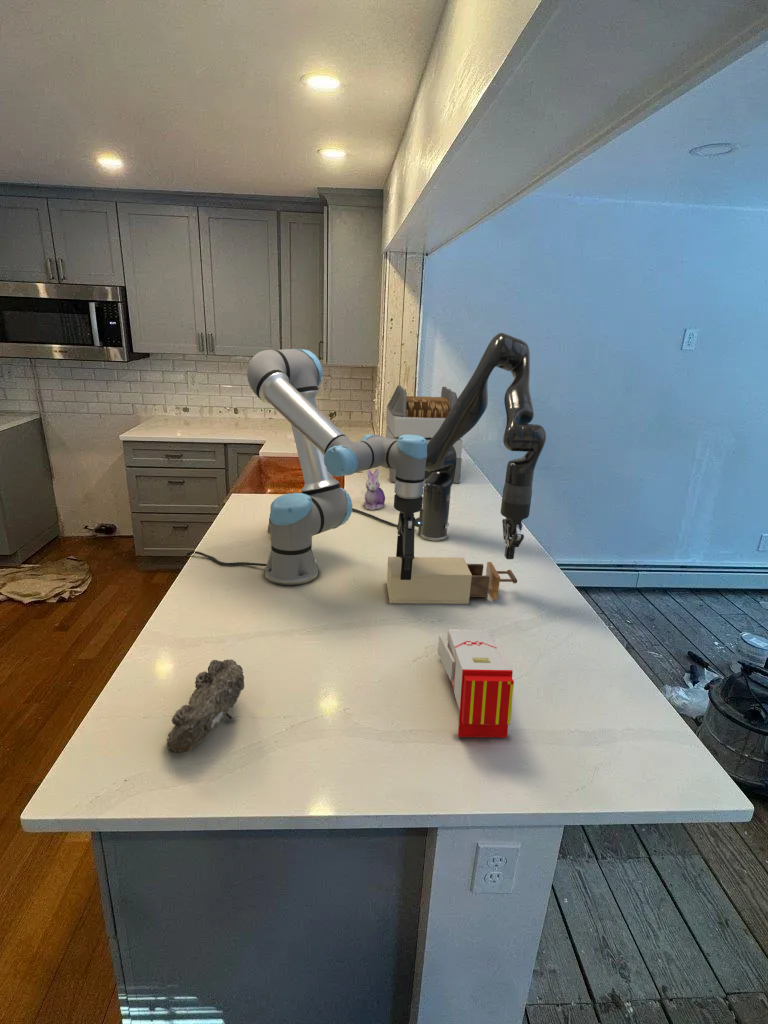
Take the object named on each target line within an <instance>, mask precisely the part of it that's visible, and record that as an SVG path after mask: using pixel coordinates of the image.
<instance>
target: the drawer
mask: <svg viewBox="0 0 768 1024" xmlns="http://www.w3.org/2000/svg"><path fill="white" fill-rule="evenodd" d="M466 564H467V566H468V568H469V570H470V572H471V574H472V578H471V587H470V597H469V598H488V594H490V597H491V599H492V600H493V601H497V600H498V597H499V591H500V590H499V589H500V583H506V582H507V583H513V584H518V579H517V577H516V576H515V574H514V573H513V571H512V569H507V570H497V569H496V568H495V566H494V564H493V562H492V561H486V569H485V575H484V574H483V572H484V564H483V563H466ZM501 574H502V575H508V578H501V576H500V575H501Z"/></svg>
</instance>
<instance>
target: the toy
mask: <svg viewBox="0 0 768 1024" xmlns="http://www.w3.org/2000/svg"><path fill="white" fill-rule="evenodd" d="M446 640H447V643H446V641H445V639H444V636H443V635H442V634H439V637H438V646H437V656H438V657H439V659H440V661H441V663H442V666H443V668H444V670H445V672H446V674H447V677H448V679H449V681H450V684H451V687H452V690H453V693H454V697H455V701H456V705H457V708H458V711H459V714H458V715H459V716H458V730H457V731H458V732H457V737H458V738H508V731H509V726H510V725H511V717H512V707H513V697H514V696H513V695H514V684H515V680H514V679H513V673H514V671H513V670H512V669H508V667H507V665H506V662H505V661H504V659H503V658H502V655H501V653H500V651H499V649H498V647H497V643H496V639H495V637H494V635H493V634H491V632H490V631H489V629H467V628H466V629H465V628H463V629H461V628H460V629H459V628H448V630H447V639H446Z"/></svg>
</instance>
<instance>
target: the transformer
mask: <svg viewBox="0 0 768 1024" xmlns="http://www.w3.org/2000/svg"><path fill="white" fill-rule="evenodd" d="M440 393H441V394H440V396H415V395H414V396H413V395H412V396H411V395H407V394H408V393H407V390H406V389H404V388H403V387H402V385H399V384H398V385H397V386H396V388H395V390H394V392H393V394H392V395H391V398H390V400H389V402H388V404H387V405H386V413H385V414H386V415H385V423H386V428H385V437H386V438H390V439H394V440H398V439H399V437H400V436H402V435H418V436H422V437H424V438H425V439H426V441H427V444H428V443H429V441H430V440H431V439H432V438H433V436H434V435H435V434H436V433H437V431H438V430H439V428H440V427H441V425H442V423H443V422H444V420H445V419H446V417H447V416H448V414H449V412H450V411H451V409H452V407H453V405H454V404H455V402H456V401H457V399H458V395H457V392H455V391H453V390H452V389H451V388H447V386H442V387H441V392H440ZM463 438H464V436H463V437H461V438H460V439H459V440H458V441H457V442H456V443H455V444H454V445H453V447H454V448H455V450H456V455H457V462H456V470H455V477H454V482H453V484H455V483H456V484H459V483H461V472H462V461H463V460H462V453H463V442H464V441H463V440H462V439H463ZM388 476H389V477H388V478H389V480H390V482H391V483H395V478H396V469H391V468H389V475H388Z"/></svg>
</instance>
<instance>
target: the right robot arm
mask: <svg viewBox="0 0 768 1024" xmlns="http://www.w3.org/2000/svg"><path fill="white" fill-rule="evenodd" d="M530 352H531V351H530V347H529V345H528V343H527V342H526V341H524V340H522V339H520V338H517V337H515V336H512V335H510V334H508V333H504V332H498V333H496V334H495V335H494V336H493V337H492V338H491V340H490V341H489V343H488V344H487V346H486V348H485V350H484V352H483V354H482V356H481V358H480V360H479V362H478V364H477V366H476V368H475V369H474V371H473V374H472V375H471V376H470V378H469V380H468V382H467V384H466V385H465V387H464V388H463V389H462V392H461V393H460V394H459V396H457V398H458V399H457V401H456V402H455V404H454V405H453V407H452V409H451V411H450V412H449V414H448V416H447V417H446V419H445V420H444V422H443V423H442V425H441V427H440V428H439V430H438V431H437V433H436V434H435V435H434V436H433V438H432V439H431V440H430V441H429V443H428V444H427V458H426V466H425V472H428V473H431V474H430V475H429V476H428V477H427V478H426V479H424V483H426V486H425V487H423V495H422V497H423V503H422V509H421V511H419V516H418V517H415V528H418V530H417V535H418V536H420V538H421V539H424V540H426V541H432V542H440V541H444V540H446V539H447V538H448V527H450V522H449V517H450V516H449V514H450V504H451V494H452V493H451V491H452V486H453V484H454V483H453V482H454V477H455V470H456V462H457V455H456V450H455V448H454V447H453V445H454V444H455V443H456V442H457V441H458V440H459V439H462V438H461V437H463V438H464V436H465V435H467V434H468V433H469V432H470V431H472V429H473V428H474V427H476V426H477V424H478V422H479V421H480V419H481V418H482V417H483V415H484V414H485V412H486V410H487V408H488V404H489V393H488V392H489V390H488V383H489V379H490V376H491V375H492V372H493V370H494V369H495V368H498V369H501V370H504V371H506V372H510V374H511V375H512V378H513V379H512V381H511V383H510V384H509V385H508V387H507V389H506V391H505V393H504V399H503V400H504V401H503V402H504V408H505V415H506V421H505V422H506V423H505V429H504V432H503V439H502V441H503V445H504V447H505V448H506V449H507V450H508V451H510V452H523V453H525V454H524V456H521V457H518V458H512V459H510V460H509V461H508V462H507V465H506V471H505V479H504V485H503V489H502V496H501V504H500V514H501V516H503V517H504V518H502V521H501V522H502V523H501V524H502V535H503V540H504V545H505V549H504V558H505V559H506V560H513V559H515V552H516V548H520V546H521V543H522V542H523V540H524V538H525V534H524V533H521V532H522V531H523V523H522V522H523V521H524V520H526V519H527V518H529V516H530V511H531V505H532V504H531V503H532V497H533V482H534V474H535V469H536V466H537V463H538V460H539V458H540V456H541V454H542V452H543V449H544V447H545V444H546V442H547V441H546V440H547V432H546V429H545V427H544V426H543V425H540V424H535V423H534V424H533V423H531V422H532V421H533V420H534V417H535V413H534V406H533V401H532V395H531V389H530V377H531V376H530V375H531V374H530V373H531V354H530ZM352 512H355V513H358V514H362V515H365V516H367V517H370V518H372V519H375V520H377V521H379V522H382V523H384V524H387V525H390V526H392V527H396V528H397V527H398V524H395V523H394V522H391V521H389V520H388V521H387V520H385V519H382V518H380V517H378V516H376V515H373V514H370V513H368V512H365V511H363V510H359V509H357V508H353V507H352Z"/></svg>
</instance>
